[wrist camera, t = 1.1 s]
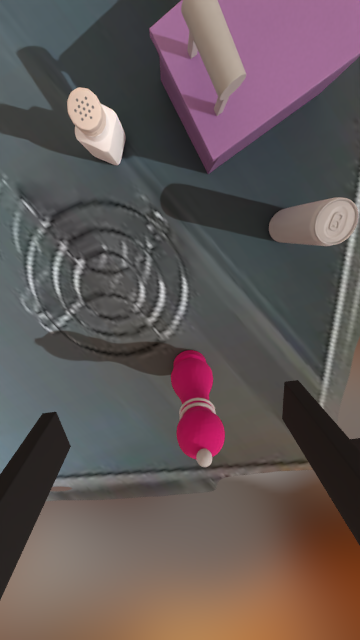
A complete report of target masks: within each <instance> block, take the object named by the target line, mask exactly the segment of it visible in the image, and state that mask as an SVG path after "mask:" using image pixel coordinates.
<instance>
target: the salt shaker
mask: <svg viewBox="0 0 360 640" xmlns="http://www.w3.org/2000/svg"><path fill="white" fill-rule="evenodd" d="M67 107H68V114H69V116H70V118H71V120H72V122H73V123H74V124H75V135H76V139H77V140H78V141H79V142H80V143H81V144H82V145H83V146H84V147H85V148H86V149H87V150H88V151H89V152H90V153H91V154H92V155H93V156H94V157H96V158H99V159H101V160H104V161H106V162H108V163H111V164H113V165H119V164H120V162H121V158H122V153H123V149H124V144H125V140H126V135H125V132H124V130H123V127H122V125H121V123H120V121H119V118H118V116H117V114H116V113H115V112H114V111H113V110H112V109H110V108H108V107H106V106H104V105H102V104H100V102H99V100H98V98H97V96H96V95H95V94H94V93H93V92H91V91H90V90H89V89H88V88H80V87H78V88H77V89H75V90H73V91H72V92H71V93H70V96H69V98H68V100H67Z"/></svg>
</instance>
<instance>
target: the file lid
mask: <svg viewBox="0 0 360 640" xmlns="http://www.w3.org/2000/svg"><path fill="white" fill-rule="evenodd" d="M149 31H150V37H151V39H152V41H153V43H154V45H155V47H156V49H157V52H158V54H159V56H160V58H161V60H162V62H163V64H164V66H165V68H166V70H167V72H168V74H169V76H170V78H171V80H172V82H173V84H174V86H175V88H176V90H177V92H178V94H179V96H180V98H181V101H182V103H183V105H184V107H185V109H186V111H187V113H188V115H189V117H190V119H191V121H192V123H193V125H194V127H195V129H196V131H197V133H198V135H199V137H200V139H201V141H202V143H203V145H204V147H205V150H206V152H207V154H208V156H209V158H210V160H211V162H213V161H215V160H216V159H217V158H219V157H220V156H222V155H223V154H224V153H226V152H227V151H228V150H230V149H231V148H233V147H234V146H235V145H237V144H238V143H239V142H241V141H242V140H244V139H245V138H246V137H248V136H249V135H250V134H252V133H253V132H254V131H256V130H257V129H259V128H260V127H261V126H263V125H264V124H265V123H267V122H268V121H270V120H271V119H272V118H274V117H275V116H276V115H278V114H279V113H281V112H282V111H283V110H285V109H286V108H287V107H289V106H290V105H291V104H293V103H294V102H296V101H297V100H298V99H300V98H301V97H302V96H304V95H305V94H307V93H308V92H309V91H311V90H312V89H313V88H315V87H316V86H318V85H319V84H320V83H322V82H323V81H324V80H326V79H327V78H328V77H330V76H331V75H333V74H334V73H335V72H337V71H338V70H339V69H341V68H342V67H344V66H345V65H346V64H348V63H349V62H350V61H352V60H353V59H355V58H356V57H357V56H359V55H360V0H181V1H180V2H179V3H178V4H176V5H175V6H174V7H173V8H172V9H171V10H170V11H169V12H167V13H166V14H165V15H164V16H163V17H162V18H161V19H160V20H158V21H157V22H156V23H155V24H154V25H153V26H152V27H151V28H150V29H149Z"/></svg>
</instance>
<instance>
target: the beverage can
mask: <svg viewBox="0 0 360 640" xmlns="http://www.w3.org/2000/svg"><path fill="white" fill-rule="evenodd" d="M357 222H358V209H357V207H356V205H355V204H354V203H353V202H352V201H351V200H349V199H347V198H338V197H335V198H330V199H326V200H321V201H317V202H312V203H307V204H303V205H298V206H294V207H290V208H285V209H282V210H280V211H278V212H277V213H276V214H275V215H274V216H273V217H272V219H271V221H270V223H269V233H270V236H271V237H272V238H273V239H274V240H275V241H277V242H282V243H295V244H308V245H320V246H331V245H335V244H339V243H341V242H343V241H345V240H346V239H347V238H348V237H349V236H350V235H351V234H352V233H353V231H354V230H355V228H356V225H357Z"/></svg>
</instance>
